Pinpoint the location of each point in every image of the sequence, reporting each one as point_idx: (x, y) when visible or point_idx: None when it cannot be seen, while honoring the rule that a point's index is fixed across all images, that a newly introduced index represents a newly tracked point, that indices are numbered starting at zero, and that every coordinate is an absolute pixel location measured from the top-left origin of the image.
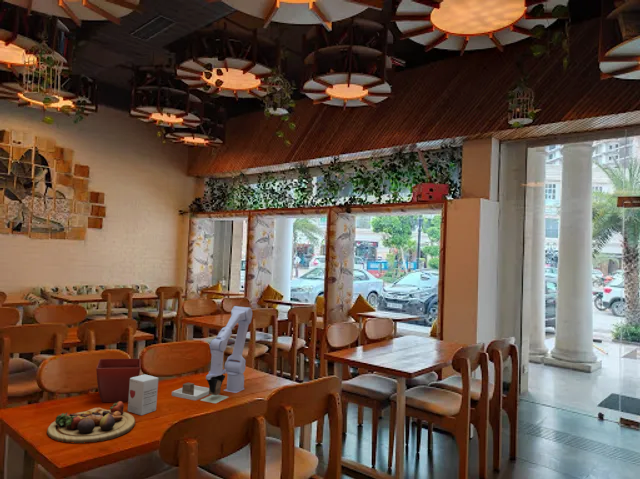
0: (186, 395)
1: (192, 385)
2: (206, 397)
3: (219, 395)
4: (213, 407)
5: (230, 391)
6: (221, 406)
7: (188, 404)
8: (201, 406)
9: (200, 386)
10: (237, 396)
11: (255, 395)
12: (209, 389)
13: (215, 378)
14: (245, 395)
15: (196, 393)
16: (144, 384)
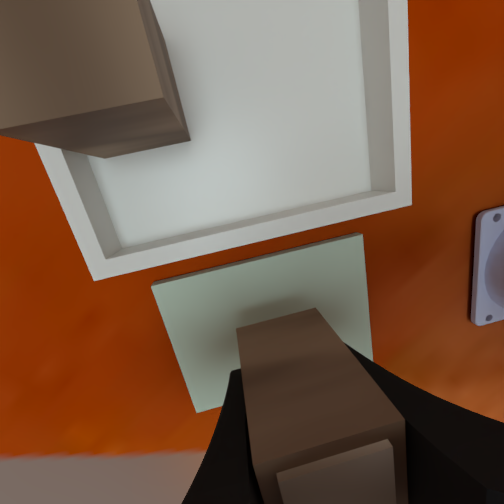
0: (46, 154)
1: (110, 115)
2: (245, 268)
3: (356, 297)
4: (146, 436)
5: (484, 278)
6: (202, 447)
7: (19, 280)
8: (87, 379)
9: (406, 6)
10: (428, 363)
11: (499, 409)
12: (241, 364)
13: (433, 464)
14: (471, 378)
15: (265, 100)
16: None
